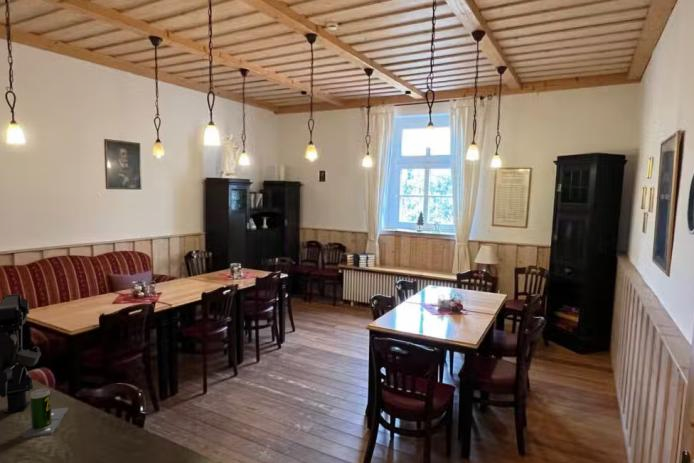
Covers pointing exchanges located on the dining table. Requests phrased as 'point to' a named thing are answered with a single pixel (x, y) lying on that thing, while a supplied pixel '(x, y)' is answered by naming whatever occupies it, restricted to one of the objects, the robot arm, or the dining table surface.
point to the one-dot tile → (58, 413)
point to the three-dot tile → (47, 431)
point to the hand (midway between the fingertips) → (10, 390)
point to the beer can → (40, 409)
